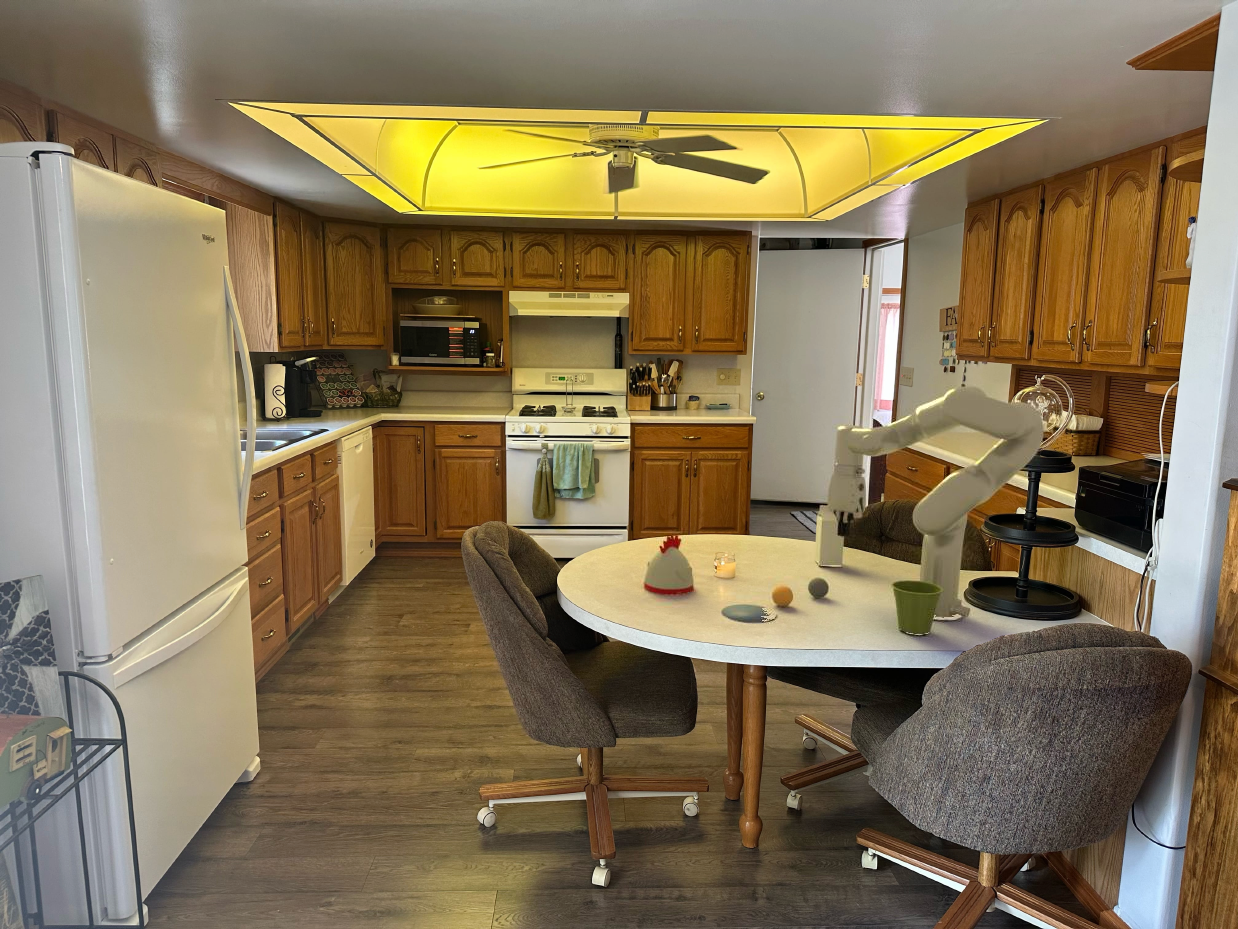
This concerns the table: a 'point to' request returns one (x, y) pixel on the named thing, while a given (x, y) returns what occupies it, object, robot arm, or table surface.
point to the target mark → (745, 613)
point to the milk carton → (828, 539)
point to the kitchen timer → (669, 570)
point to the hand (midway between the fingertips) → (843, 535)
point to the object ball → (782, 595)
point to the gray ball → (818, 587)
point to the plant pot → (915, 605)
